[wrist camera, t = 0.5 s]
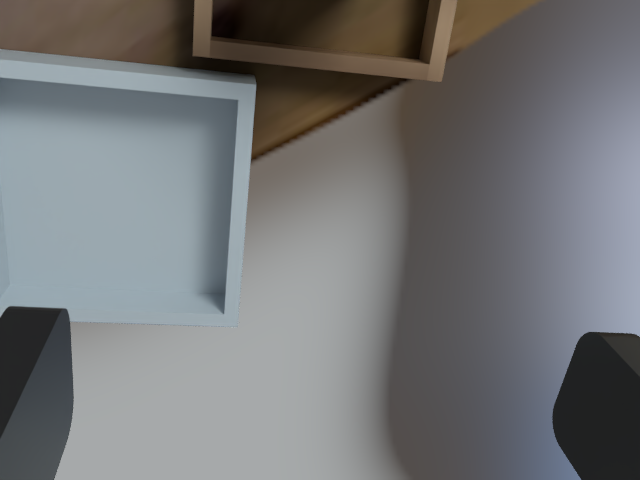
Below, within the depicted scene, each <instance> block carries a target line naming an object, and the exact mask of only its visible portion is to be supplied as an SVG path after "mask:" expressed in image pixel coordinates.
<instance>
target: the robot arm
mask: <svg viewBox="0 0 640 480" xmlns="http://www.w3.org/2000/svg"><path fill="white" fill-rule="evenodd" d="M73 398H74V397H73V373H72V353H71V332H70V318H69V313H68V311H67V309H66V308H47V307H24V306H9V307H8V308H6V310H5V311H4V312H3V314H2V315H1V317H0V480H54V478H55V475H56V472H57V469H58V466H59V463H60V460H61V457H62V454H63V451H64V448H65V445H66V442H67V439H68V435H69V431H70V427H71V421H72V413H73ZM553 429H554V433H555V437H556V440H557V442H558V444H559V446H560V447H561V449H562V450H563V452H564V454H565V455H566V457H567V458H568V460H569V461H570V463H571V464H572V466H573V467H574V469H575V471H576V472H577V474H578V475H579V477H580V478H581V480H640V337H639V336H637V335H635V334H628V333H626V334H625V333H604V332H588V333H586V334H584V335H583V336H582V337H581V338H580V339H579V341H578V343H577V345H576V348H575V350H574V353H573V356H572V359H571V361H570V364H569V367H568V369H567V372H566V375H565V378H564V380H563V383H562V386H561V388H560V391H559V394H558V397H557V399H556V402H555V405H554V409H553Z"/></svg>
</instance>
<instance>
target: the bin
mask: <svg viewBox="0 0 640 480" xmlns="http://www.w3.org/2000/svg"><path fill="white" fill-rule="evenodd" d="M255 96H256V80H255V75H250V74H240V73H230V72H220V71H211V70H201V69H191V68H181V67H171V66H162V65H152V64H142V63H132V62H122V61H112V60H103V59H93V58H83V57H73V56H63V55H53V54H44V53H34V52H24V51H14V50H4V49H0V317H1V315H2V314H3V312H4V311H5V310H6V308H8V307H9V306H24V307H47V308H66V309H67V311H68V313H69V318H70V322H94V323H124V324H126V323H127V324H155V325H156V324H157V325H185V326H216V327H217V326H218V327H238V317H239V304H240V290H241V277H242V265H243V252H244V239H245V226H246V213H247V200H248V187H249V174H250V161H251V148H252V135H253V122H254V109H255Z"/></svg>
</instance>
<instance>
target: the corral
mask: <svg viewBox="0 0 640 480" xmlns="http://www.w3.org/2000/svg"><path fill="white" fill-rule="evenodd" d="M456 5H457V0H429V5H428V10H427V16H426V22H425V27H424V33H423V39H422V44H421V50H420V56H419V59H412V58H403V57H394V56H385V55H376V54H367V53H358V52H349V51H340V50H331V49H322V48H313V47H304V46H295V45H286V44H277V43H268V42H259V41H250V40H241V39H232V38H223V37H214V36H212V18H213V0H195V3H194V31H193V56H198V57H208V58H217V59H227V60H236V61H246V62H255V63H265V64H274V65H284V66H293V67H303V68H312V69H322V70H331V71H341V72H350V73H360V74H369V75H379V76H388V77H398V78H407V79H417V80H427V81H436V82H442V77H443V72H444V67H445V62H446V57H447V51H448V46H449V41H450V36H451V31H452V26H453V20H454V15H455V10H456Z"/></svg>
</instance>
